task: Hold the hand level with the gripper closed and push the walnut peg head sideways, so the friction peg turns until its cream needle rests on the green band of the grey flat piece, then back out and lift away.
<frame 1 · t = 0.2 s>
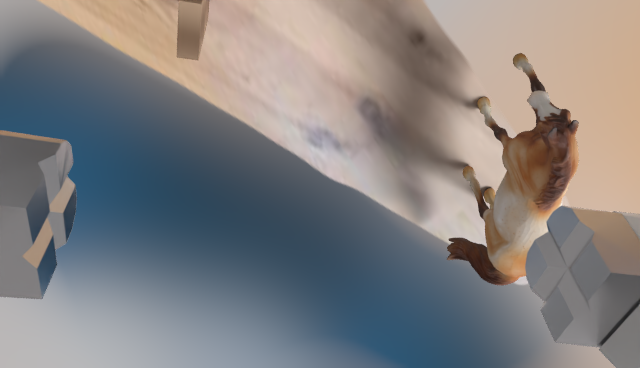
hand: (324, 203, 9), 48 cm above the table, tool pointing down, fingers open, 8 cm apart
horse figurine: (463, 139, 68), on the table
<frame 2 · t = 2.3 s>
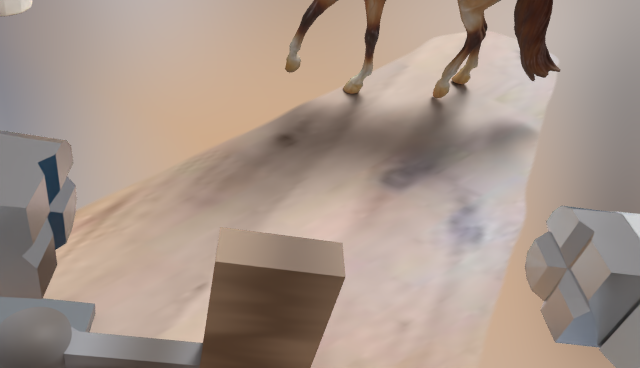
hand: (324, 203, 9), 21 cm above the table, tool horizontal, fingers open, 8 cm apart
horse figurine: (403, 103, 56), on the table
tuning peg: (62, 302, 23), point 6 cm above the table, hinge at 0.0°
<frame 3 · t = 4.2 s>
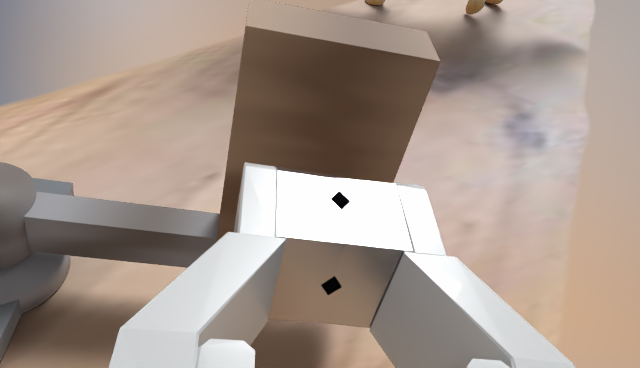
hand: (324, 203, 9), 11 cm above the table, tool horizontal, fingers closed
horse figurine: (433, 18, 49), on the table
tuning peg: (18, 128, 16), point 6 cm above the table, hinge at 0.0°
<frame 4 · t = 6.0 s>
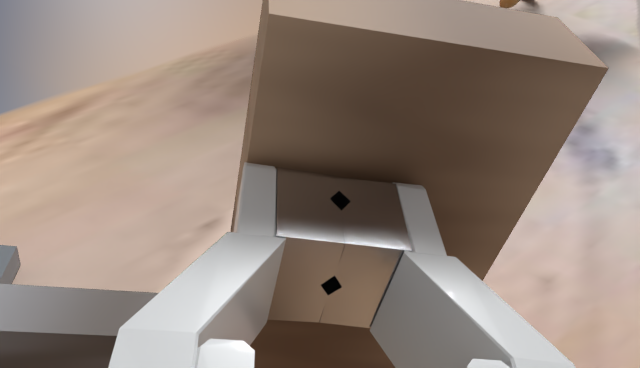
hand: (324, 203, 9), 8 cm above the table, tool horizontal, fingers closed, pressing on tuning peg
horse figurine: (463, 13, 42), on the table
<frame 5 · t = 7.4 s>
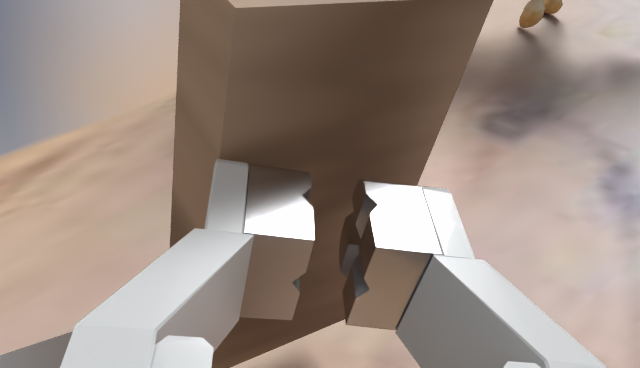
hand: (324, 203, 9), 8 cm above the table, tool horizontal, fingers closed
horse figurine: (481, 33, 40), on the table
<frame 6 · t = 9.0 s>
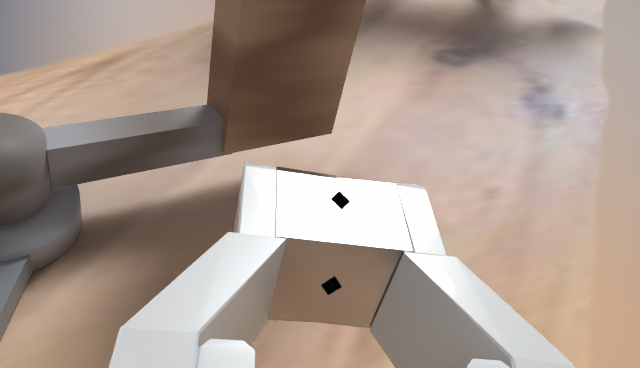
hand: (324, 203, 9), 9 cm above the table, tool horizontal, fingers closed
grey flat piece: (5, 225, 19), on the table
tuning peg: (30, 54, 15), point 6 cm above the table, hinge at 29.6°
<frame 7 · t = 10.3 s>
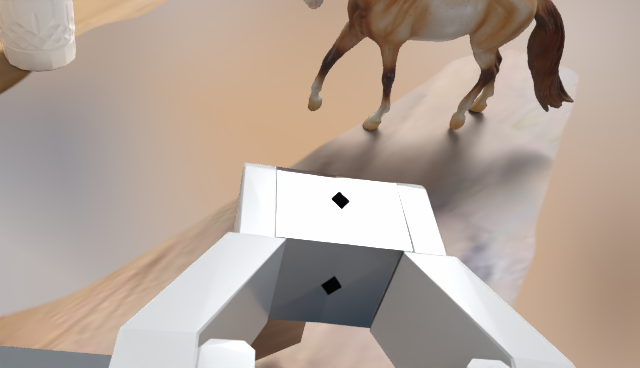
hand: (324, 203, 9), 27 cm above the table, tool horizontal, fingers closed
horse figurine: (420, 136, 59), on the table
white cup: (42, 56, 58), on the table
tuning peg: (117, 360, 28), point 6 cm above the table, hinge at 29.6°
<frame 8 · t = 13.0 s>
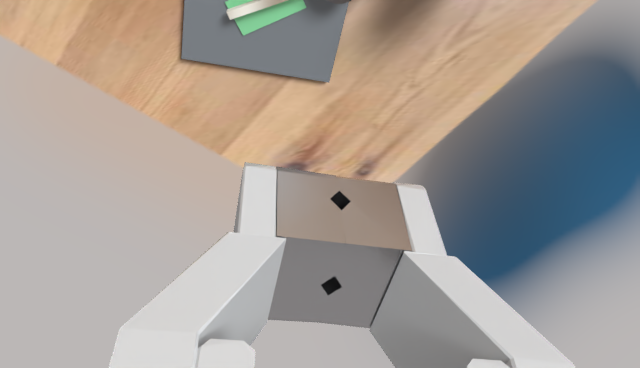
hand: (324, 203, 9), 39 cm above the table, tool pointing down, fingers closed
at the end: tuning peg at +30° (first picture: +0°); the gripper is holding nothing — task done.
